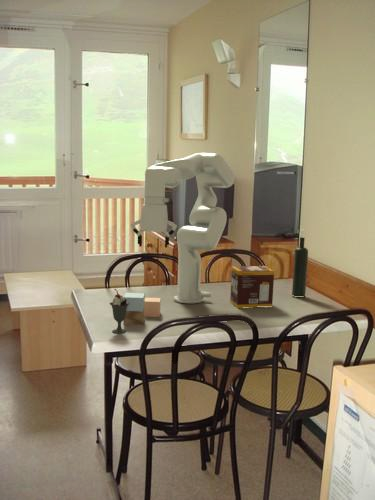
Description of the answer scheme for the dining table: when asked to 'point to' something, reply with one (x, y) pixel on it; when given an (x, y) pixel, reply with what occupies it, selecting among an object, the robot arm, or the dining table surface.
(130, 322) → the block bottom
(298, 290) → the wine bottle
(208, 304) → the dining table surface
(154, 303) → the cube
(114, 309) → the sundae
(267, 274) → the supplement box
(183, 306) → the dining table surface
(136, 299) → the block top
